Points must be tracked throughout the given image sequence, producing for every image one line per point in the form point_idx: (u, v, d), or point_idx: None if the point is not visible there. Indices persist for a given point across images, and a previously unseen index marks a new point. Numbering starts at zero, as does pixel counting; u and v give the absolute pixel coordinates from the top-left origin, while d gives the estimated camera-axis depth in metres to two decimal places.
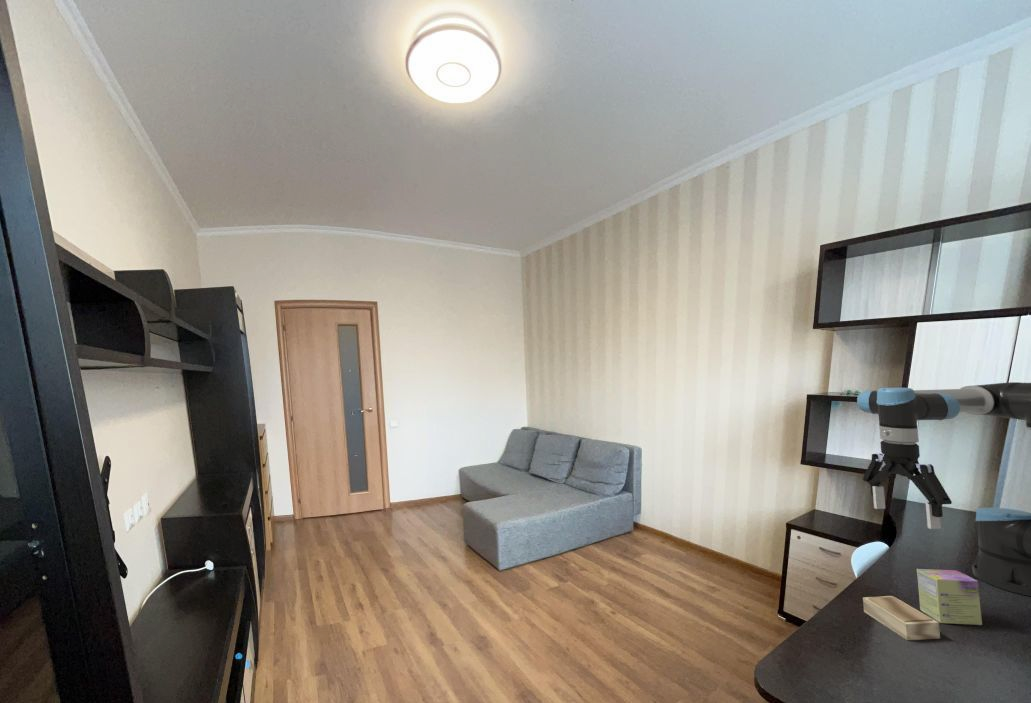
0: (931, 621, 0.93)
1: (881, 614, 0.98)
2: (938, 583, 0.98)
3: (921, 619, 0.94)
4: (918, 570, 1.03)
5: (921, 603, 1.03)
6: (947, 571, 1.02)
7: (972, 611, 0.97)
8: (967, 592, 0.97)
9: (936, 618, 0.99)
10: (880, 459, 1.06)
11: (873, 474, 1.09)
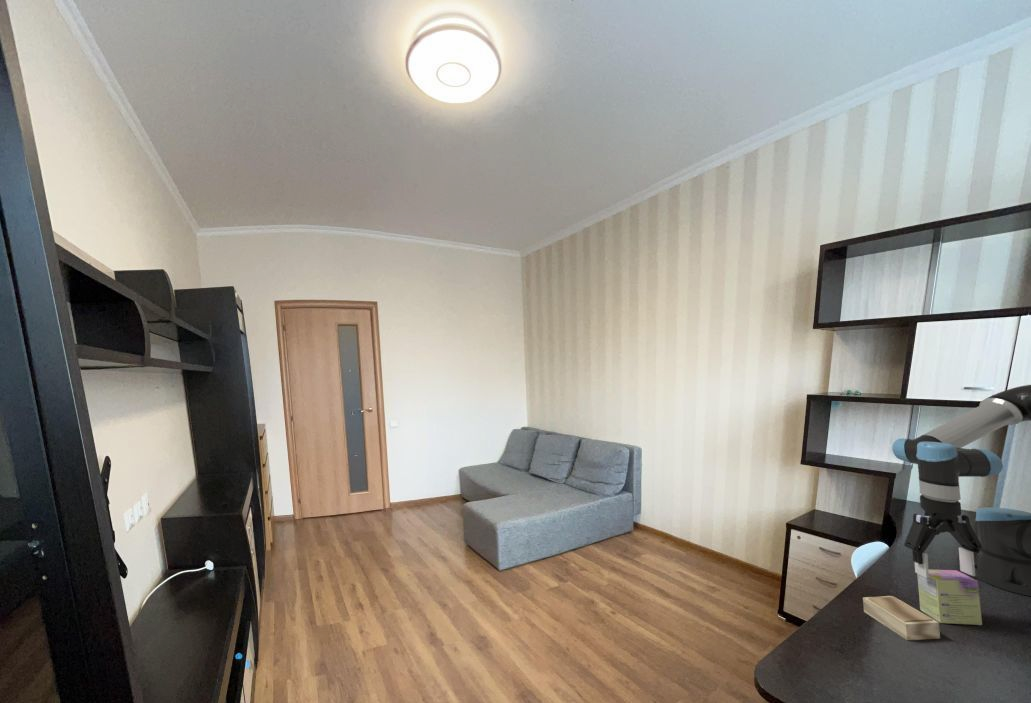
0: (931, 621, 0.93)
1: (881, 614, 0.98)
2: (938, 583, 0.98)
3: (921, 619, 0.94)
4: None
5: (921, 603, 1.03)
6: (947, 571, 1.02)
7: (972, 611, 0.97)
8: (967, 592, 0.97)
9: (936, 618, 0.99)
10: None
11: (968, 538, 1.01)
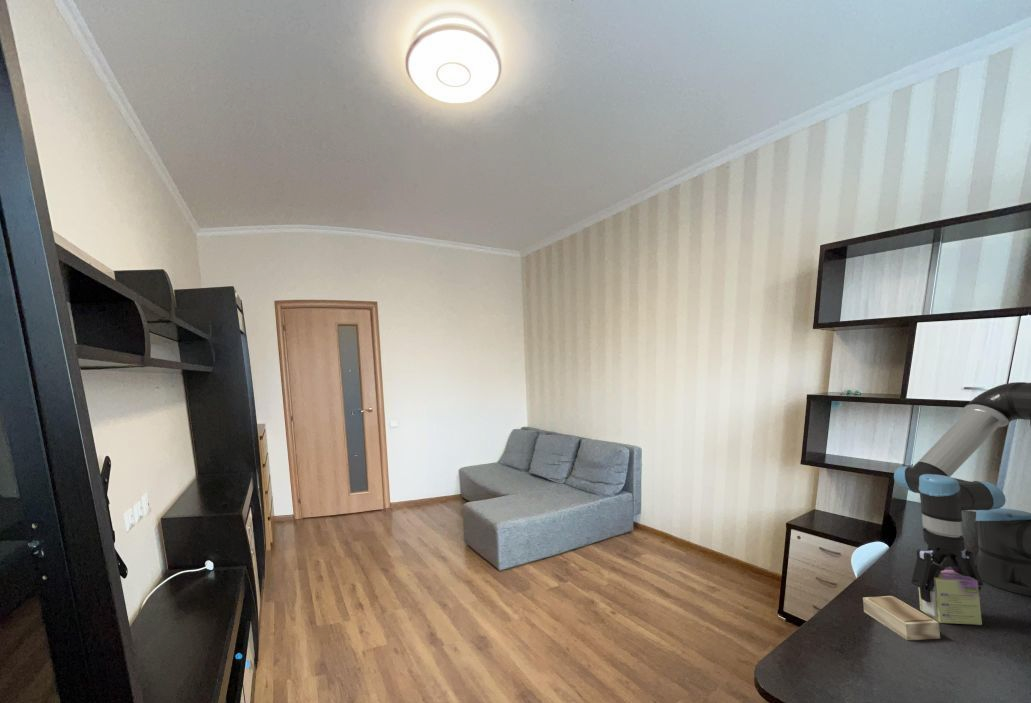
0: (931, 621, 0.93)
1: (881, 614, 0.98)
2: (938, 583, 0.98)
3: (921, 619, 0.94)
4: None
5: (921, 603, 1.03)
6: (947, 571, 1.02)
7: (972, 611, 0.97)
8: (967, 591, 0.97)
9: (936, 618, 0.99)
10: None
11: (970, 574, 1.01)
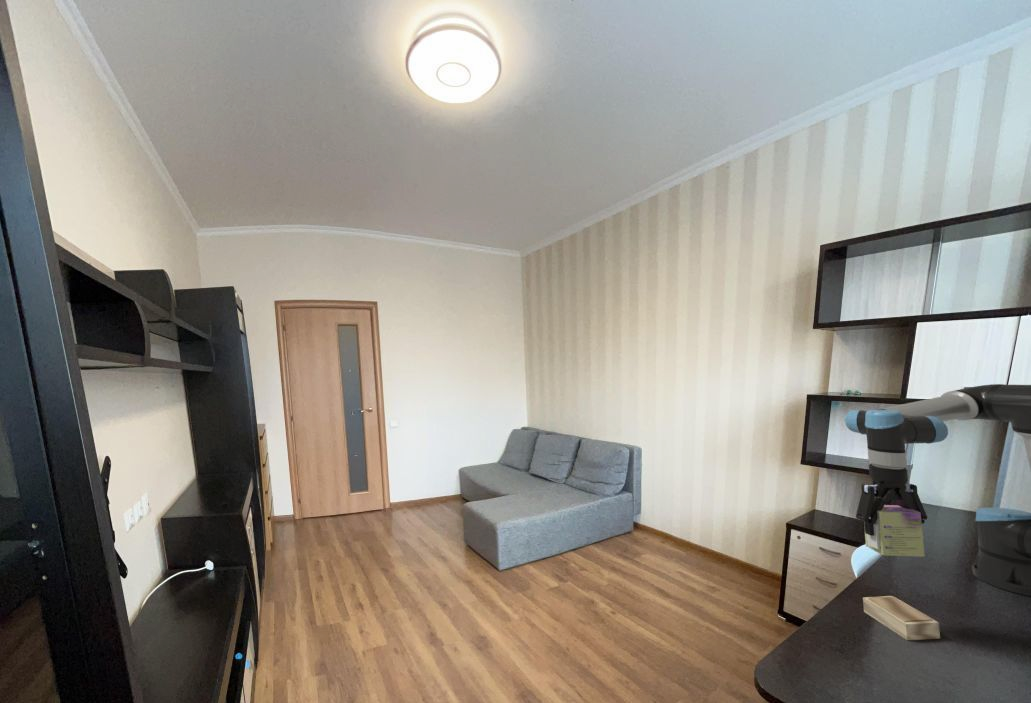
0: (931, 621, 0.93)
1: (881, 614, 0.98)
2: (881, 515, 0.97)
3: (921, 619, 0.94)
4: None
5: (866, 538, 1.01)
6: (892, 506, 1.01)
7: (915, 543, 0.96)
8: (910, 523, 0.96)
9: (879, 551, 0.98)
10: None
11: (915, 508, 1.00)
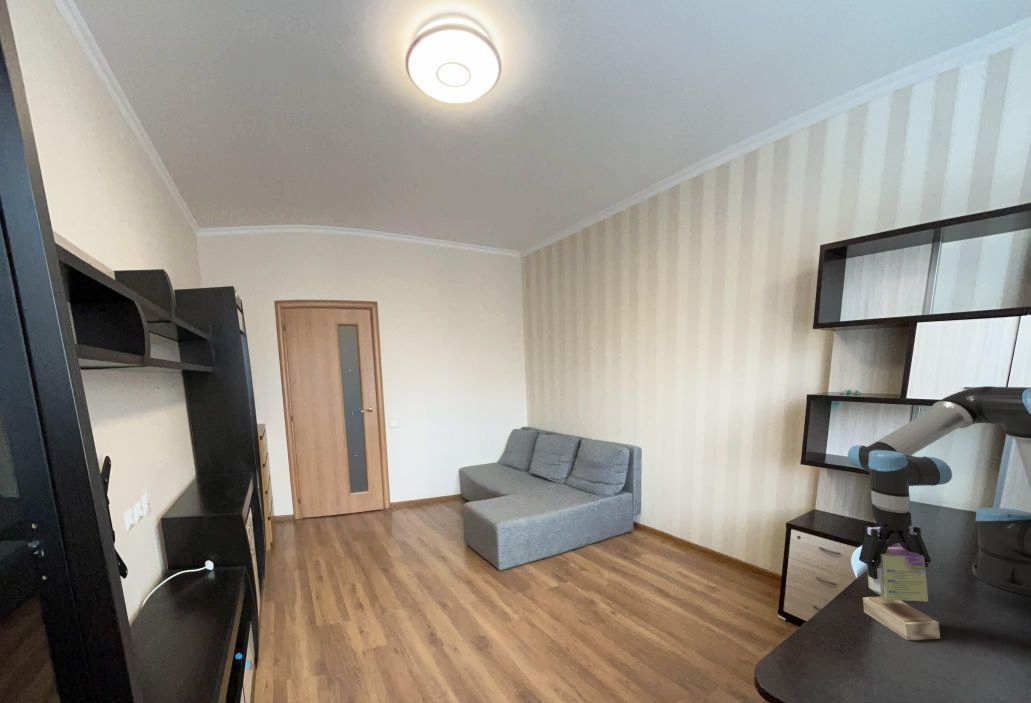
0: (931, 621, 0.93)
1: (881, 614, 0.98)
2: (884, 559, 0.96)
3: (921, 619, 0.94)
4: None
5: (869, 580, 1.01)
6: (896, 548, 1.00)
7: (918, 588, 0.95)
8: (913, 568, 0.96)
9: (882, 595, 0.97)
10: None
11: (918, 551, 0.99)
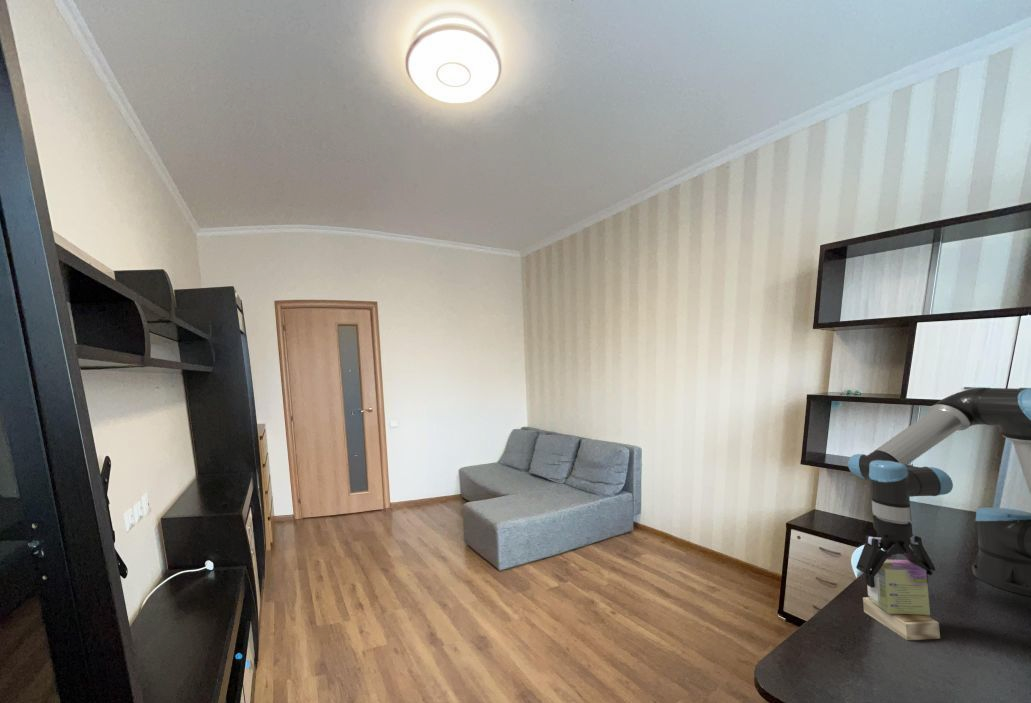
0: (931, 621, 0.93)
1: (881, 614, 0.98)
2: (887, 572, 0.96)
3: (921, 619, 0.94)
4: None
5: None
6: (897, 561, 1.00)
7: (920, 601, 0.95)
8: (915, 581, 0.96)
9: (885, 608, 0.97)
10: None
11: (922, 559, 0.99)
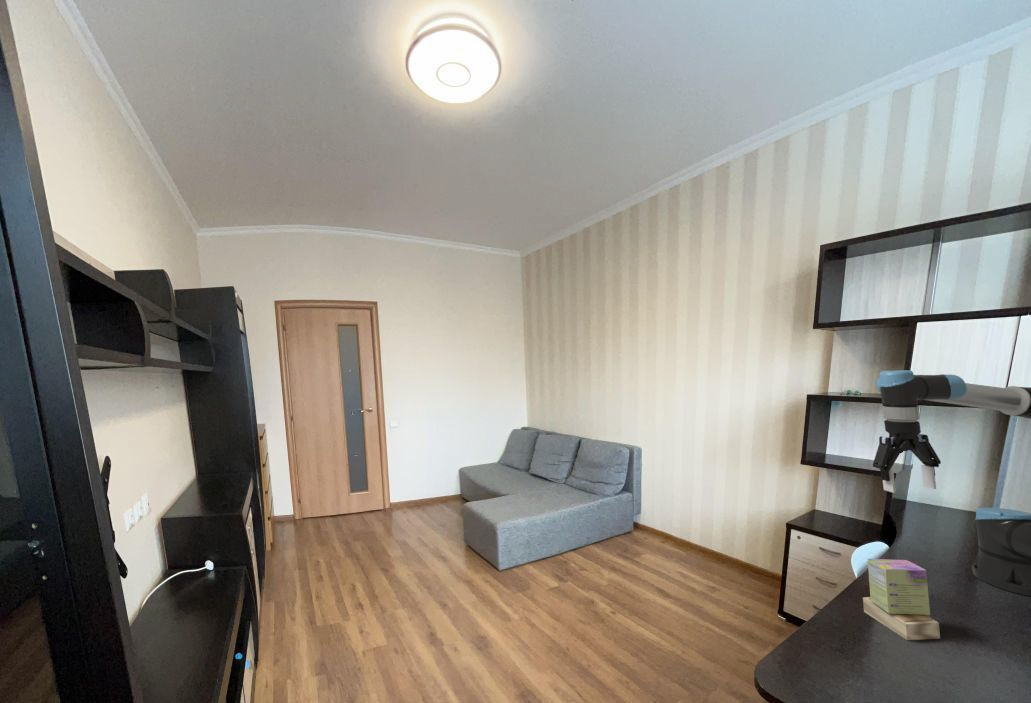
0: (931, 621, 0.93)
1: (881, 614, 0.98)
2: (887, 572, 0.96)
3: (921, 619, 0.94)
4: (869, 560, 1.01)
5: (871, 594, 1.01)
6: (897, 561, 1.00)
7: (920, 601, 0.95)
8: (915, 581, 0.96)
9: (885, 608, 0.97)
10: None
11: (928, 455, 1.11)
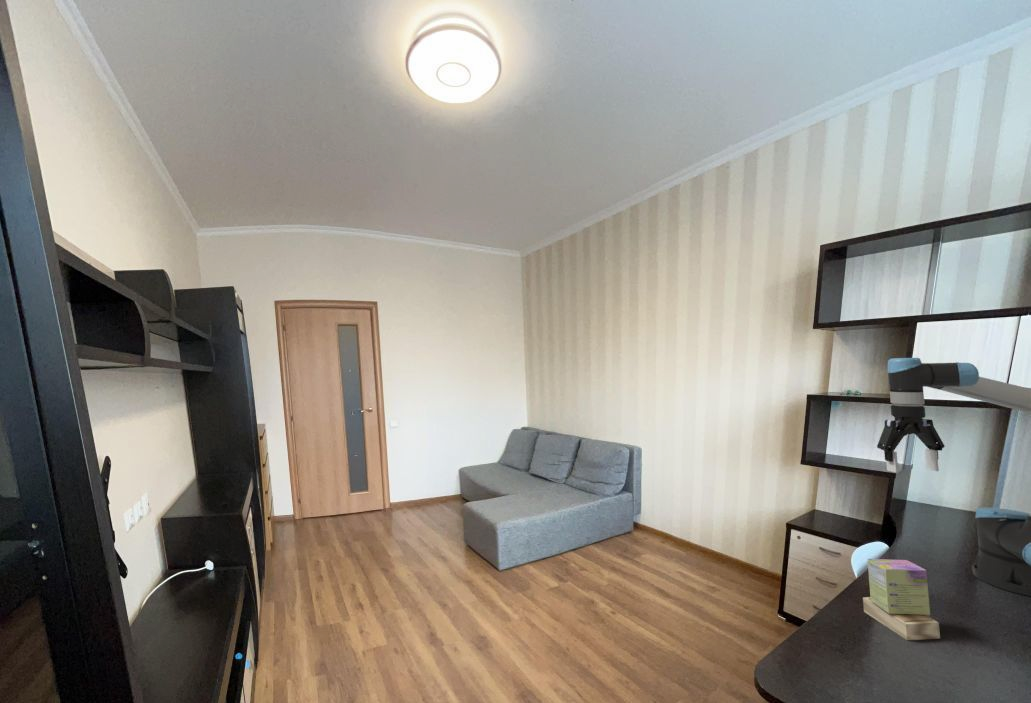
0: (931, 621, 0.93)
1: (881, 614, 0.98)
2: (887, 572, 0.96)
3: (921, 619, 0.94)
4: (869, 560, 1.01)
5: (871, 594, 1.01)
6: (897, 561, 1.00)
7: (920, 601, 0.95)
8: (915, 581, 0.96)
9: (885, 608, 0.97)
10: None
11: (933, 439, 1.16)
